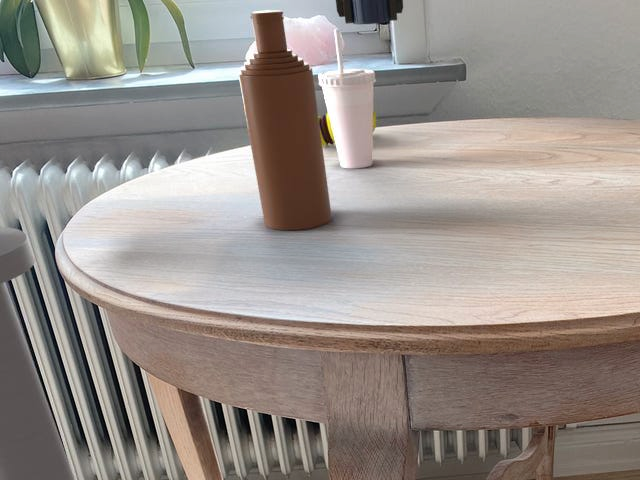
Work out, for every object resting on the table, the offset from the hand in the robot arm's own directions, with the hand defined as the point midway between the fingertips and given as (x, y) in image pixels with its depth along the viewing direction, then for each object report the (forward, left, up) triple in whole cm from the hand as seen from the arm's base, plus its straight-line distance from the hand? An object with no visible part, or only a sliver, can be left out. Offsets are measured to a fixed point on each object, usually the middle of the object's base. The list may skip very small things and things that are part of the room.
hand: (370, 20), depth 87 cm
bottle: (-9, -12, -15) cm, 21 cm away
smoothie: (-3, +10, -16) cm, 19 cm away
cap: (0, 0, 0) cm, 0 cm away
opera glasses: (-4, +24, -16) cm, 29 cm away
